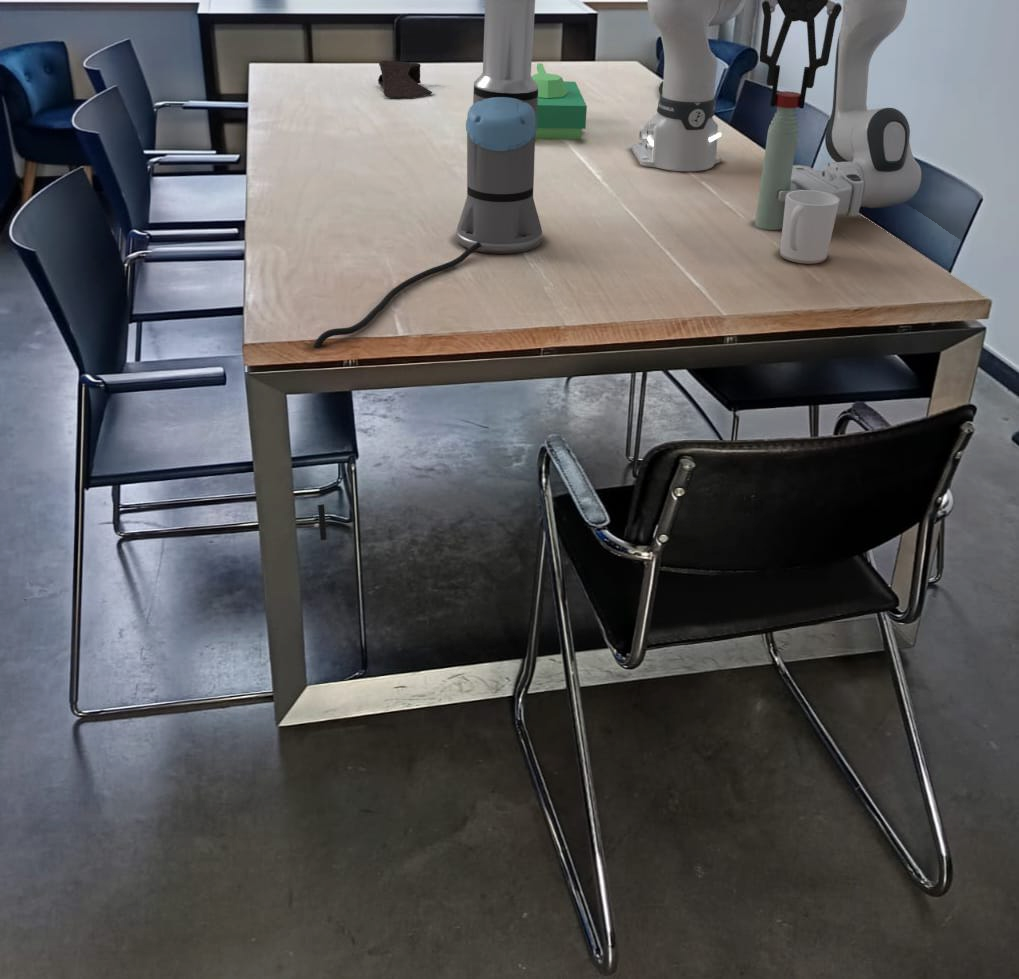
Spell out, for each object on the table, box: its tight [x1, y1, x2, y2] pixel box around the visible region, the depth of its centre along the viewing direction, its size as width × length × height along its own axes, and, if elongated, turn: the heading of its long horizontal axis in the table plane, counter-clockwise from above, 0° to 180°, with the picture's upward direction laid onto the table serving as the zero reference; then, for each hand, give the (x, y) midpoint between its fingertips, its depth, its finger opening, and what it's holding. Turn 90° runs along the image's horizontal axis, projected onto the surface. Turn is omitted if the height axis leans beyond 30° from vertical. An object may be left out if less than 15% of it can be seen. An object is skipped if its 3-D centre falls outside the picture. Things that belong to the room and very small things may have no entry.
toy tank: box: [531, 63, 588, 141], centre depth 266 cm, size 18×12×35 cm
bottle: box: [754, 106, 799, 231], centre depth 200 cm, size 5×5×23 cm
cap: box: [775, 90, 801, 109], centre depth 194 cm, size 4×4×2 cm
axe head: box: [377, 59, 433, 99], centre depth 299 cm, size 18×8×15 cm
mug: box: [779, 190, 840, 265], centre depth 188 cm, size 11×9×10 cm
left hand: (786, 105), depth 195 cm, fingers closed on cap, 4 cm apart
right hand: (770, 190), depth 203 cm, fingers closed on bottle, 5 cm apart
